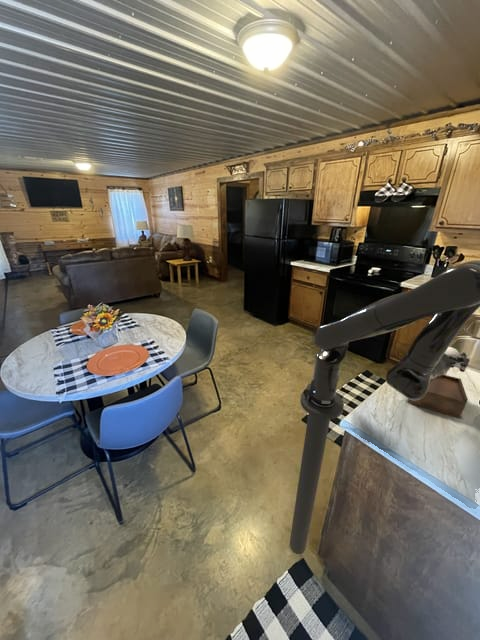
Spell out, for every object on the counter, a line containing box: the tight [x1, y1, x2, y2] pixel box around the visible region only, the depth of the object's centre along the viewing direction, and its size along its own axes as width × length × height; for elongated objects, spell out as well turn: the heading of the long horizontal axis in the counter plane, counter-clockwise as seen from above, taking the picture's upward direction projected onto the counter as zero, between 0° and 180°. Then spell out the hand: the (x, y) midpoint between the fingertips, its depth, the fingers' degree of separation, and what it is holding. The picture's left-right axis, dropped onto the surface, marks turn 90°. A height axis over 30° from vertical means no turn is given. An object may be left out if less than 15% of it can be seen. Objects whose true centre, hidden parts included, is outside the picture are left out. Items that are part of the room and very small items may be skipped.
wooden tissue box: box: [407, 374, 469, 419], centre depth 100 cm, size 16×14×8 cm
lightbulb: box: [443, 346, 461, 375], centre depth 92 cm, size 6×6×11 cm
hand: (452, 351), depth 92 cm, fingers closed on lightbulb, 6 cm apart
